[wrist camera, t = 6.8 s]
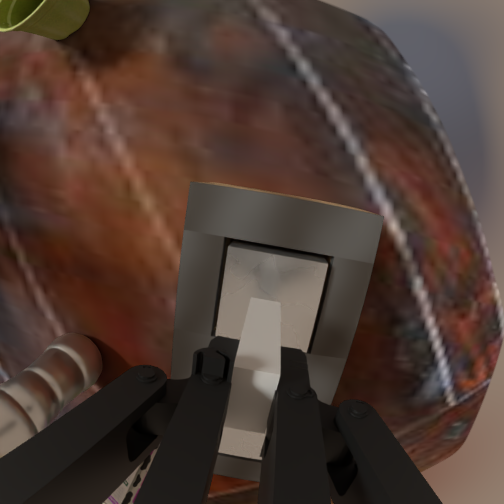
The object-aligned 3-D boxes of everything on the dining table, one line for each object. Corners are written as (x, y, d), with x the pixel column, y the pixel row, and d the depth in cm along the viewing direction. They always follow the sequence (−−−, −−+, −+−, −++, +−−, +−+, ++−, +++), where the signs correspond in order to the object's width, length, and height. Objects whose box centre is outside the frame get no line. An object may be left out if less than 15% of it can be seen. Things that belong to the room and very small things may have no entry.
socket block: (189, 413, 32) (168, 462, 24) (216, 182, 27) (190, 181, 19) (295, 432, 32) (296, 486, 24) (355, 207, 26) (384, 216, 19)
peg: (232, 298, 28) (215, 336, 20) (243, 229, 27) (228, 246, 19) (301, 310, 27) (306, 352, 20) (315, 242, 26) (328, 264, 19)
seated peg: (217, 399, 31) (202, 448, 24) (225, 352, 30) (208, 398, 22) (275, 410, 31) (271, 461, 23) (287, 363, 29) (287, 412, 22)
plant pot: (117, -15, 24) (80, -52, 15) (80, 55, 26) (30, 29, 17) (62, -12, 24) (23, -39, 15) (29, 52, 26) (-18, 33, 17)
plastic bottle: (119, 368, 32) (15, 492, 12) (82, 381, 33) (-14, 485, 14) (88, 318, 31) (-43, 420, 12) (54, 336, 32) (-61, 424, 13)
